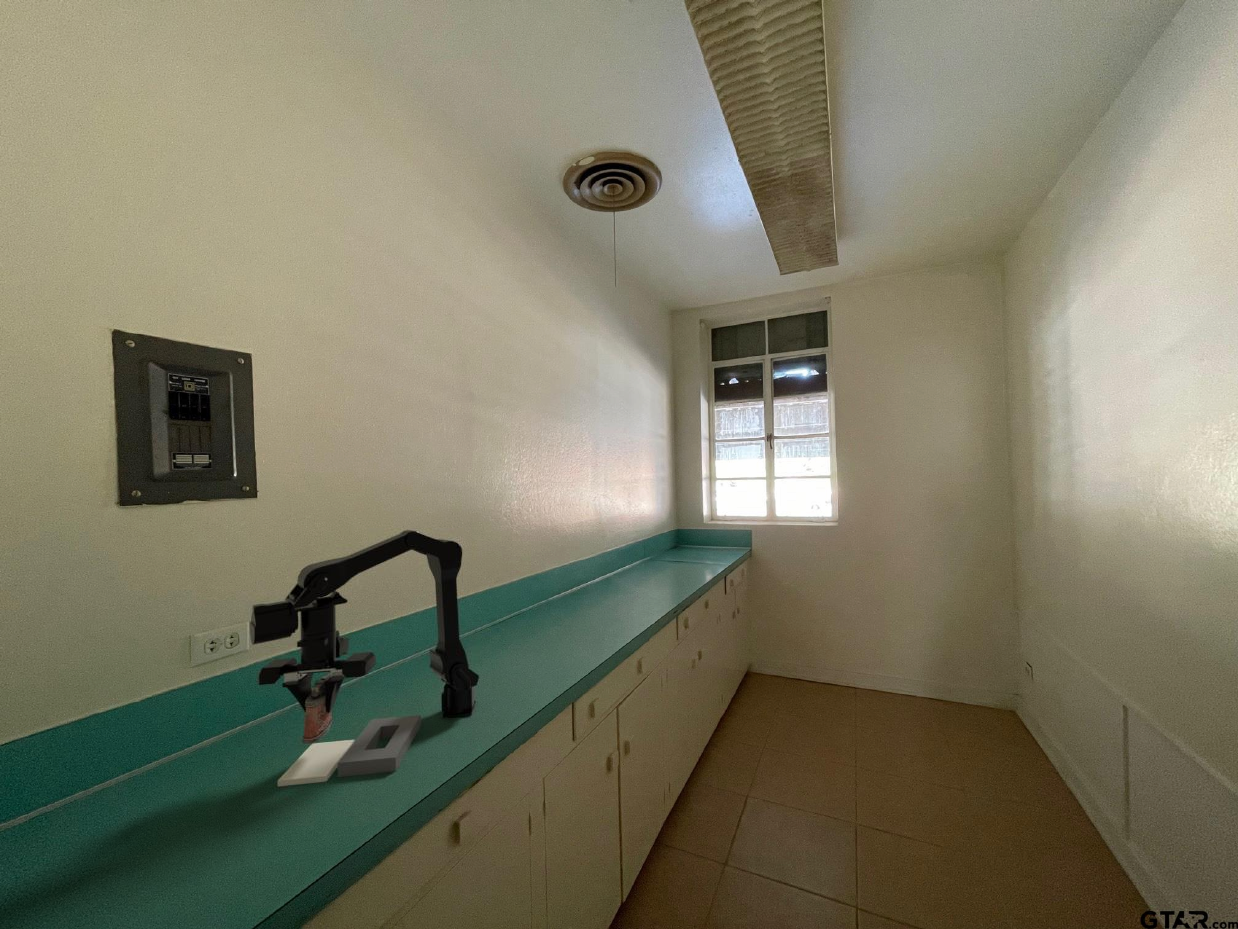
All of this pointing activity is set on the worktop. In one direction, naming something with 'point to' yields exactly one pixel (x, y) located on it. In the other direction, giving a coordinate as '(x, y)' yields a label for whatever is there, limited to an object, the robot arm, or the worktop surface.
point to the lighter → (316, 713)
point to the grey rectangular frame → (386, 759)
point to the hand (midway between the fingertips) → (319, 713)
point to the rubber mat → (316, 763)
